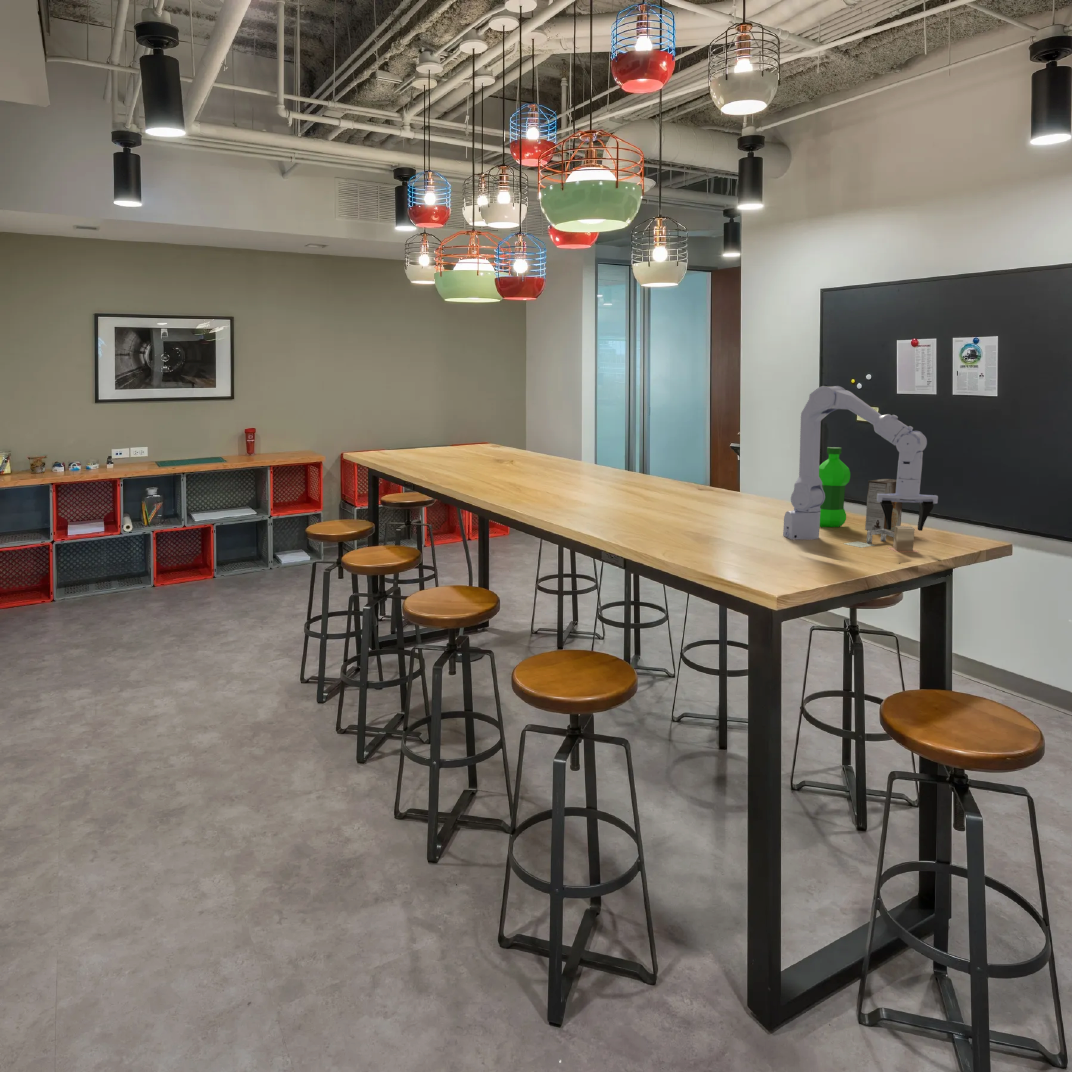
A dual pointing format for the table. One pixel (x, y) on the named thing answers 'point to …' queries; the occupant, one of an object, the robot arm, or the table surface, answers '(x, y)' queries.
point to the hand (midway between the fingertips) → (904, 529)
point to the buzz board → (861, 544)
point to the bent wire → (880, 531)
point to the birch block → (903, 538)
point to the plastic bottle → (833, 489)
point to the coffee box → (874, 508)
